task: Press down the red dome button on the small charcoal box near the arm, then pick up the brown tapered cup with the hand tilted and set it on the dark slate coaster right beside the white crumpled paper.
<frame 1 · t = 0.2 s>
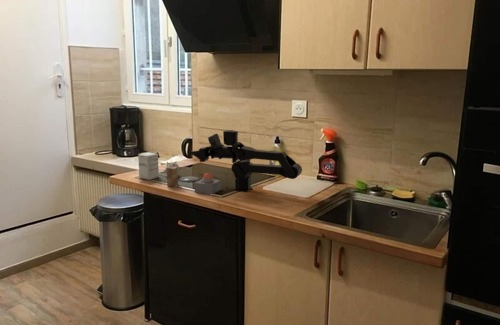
hand: (195, 150, 200), 16 cm above the worktop, tool horizontal, fingers open, 9 cm apart
dome button: (207, 179, 191), point 5 cm above the worktop, slide at 0.0 cm
slate coaster: (188, 179, 212), on the worktop
brown tapered cup: (172, 185, 200), on the worktop
supplement box: (149, 177, 215), on the worktop
white crumpled paper: (172, 176, 218), on the worktop
button housing: (208, 190, 192), on the worktop
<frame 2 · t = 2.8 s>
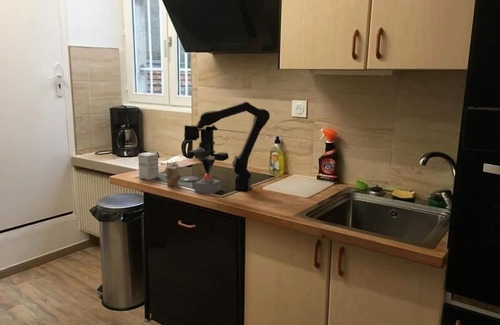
hand: (207, 173, 190), 8 cm above the worktop, tool pointing down, fingers closed, pressing on dome button
dome button: (207, 180, 191), point 5 cm above the worktop, slide at 0.3 cm, touching gripper
everything else where it was.
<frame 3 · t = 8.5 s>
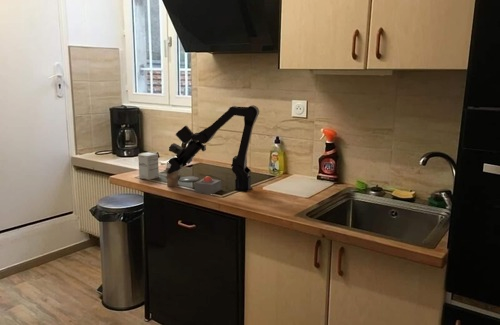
hand: (169, 172, 199), 7 cm above the worktop, tool tilted 45°, fingers closed on brown tapered cup, 4 cm apart
dome button: (207, 183, 191), point 4 cm above the worktop, slide at 1.6 cm
brown tapered cup: (172, 185, 200), on the worktop, touching gripper
everything else where it was.
when the fingers open (8 cm above the worktop, at t = 11.9 s): brown tapered cup stays where it is, resting on slate coaster.
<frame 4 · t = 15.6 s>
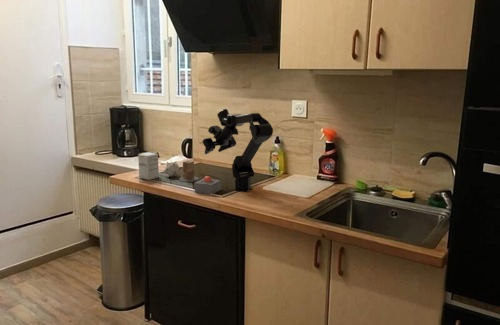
hand: (212, 152, 212), 14 cm above the worktop, tool tilted 45°, fingers open, 9 cm apart
brown tapered cup: (188, 178, 212), resting on slate coaster
everything else where it was.
at the end: brown tapered cup 0.0 cm from the slate coaster (horizontally); brown tapered cup tilted 0°; dome button slide at 1.6 cm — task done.
